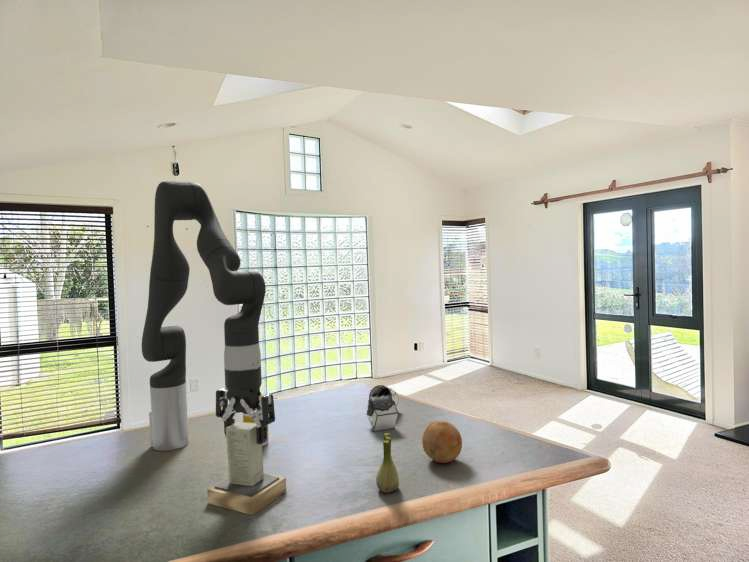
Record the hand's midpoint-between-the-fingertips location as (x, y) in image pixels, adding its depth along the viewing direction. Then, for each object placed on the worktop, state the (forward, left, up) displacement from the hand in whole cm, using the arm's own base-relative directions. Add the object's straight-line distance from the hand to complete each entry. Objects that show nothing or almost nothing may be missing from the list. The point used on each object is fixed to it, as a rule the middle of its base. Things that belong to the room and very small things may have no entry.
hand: (245, 440), depth 105 cm
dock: (0, 0, -12) cm, 12 cm away
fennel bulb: (+26, +15, -13) cm, 33 cm away
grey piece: (+5, +57, -13) cm, 59 cm away
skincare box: (0, 0, -9) cm, 9 cm away
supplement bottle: (-19, +25, -13) cm, 34 cm away
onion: (+32, +34, -13) cm, 48 cm away
